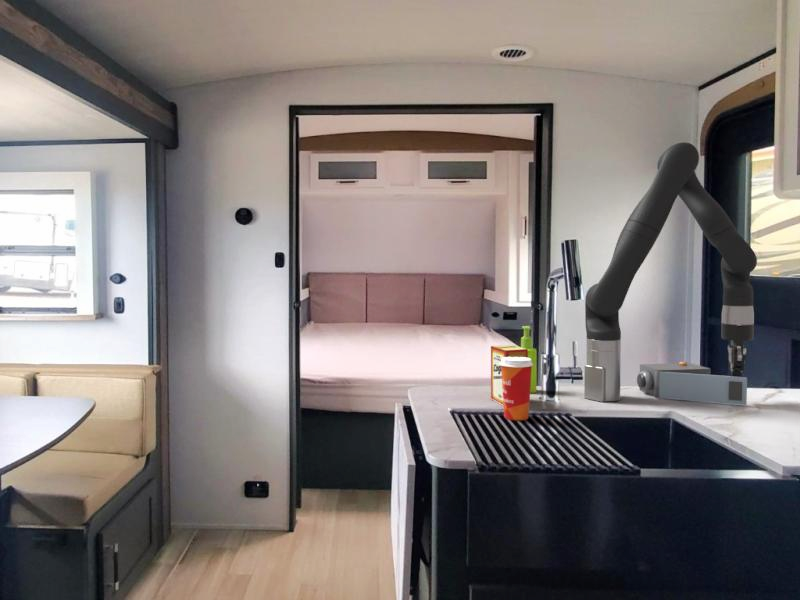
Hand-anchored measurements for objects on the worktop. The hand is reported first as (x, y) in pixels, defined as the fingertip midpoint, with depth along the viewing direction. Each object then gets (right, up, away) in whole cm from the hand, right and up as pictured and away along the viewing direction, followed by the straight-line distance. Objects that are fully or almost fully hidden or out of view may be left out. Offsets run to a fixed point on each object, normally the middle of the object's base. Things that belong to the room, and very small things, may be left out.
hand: (736, 384), depth 149 cm
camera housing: (-12, -5, +13) cm, 18 cm away
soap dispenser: (-53, -5, +19) cm, 57 cm away
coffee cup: (-63, -7, -11) cm, 64 cm away
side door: (-9, -5, +2) cm, 10 cm away
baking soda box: (-61, -6, +4) cm, 62 cm away
